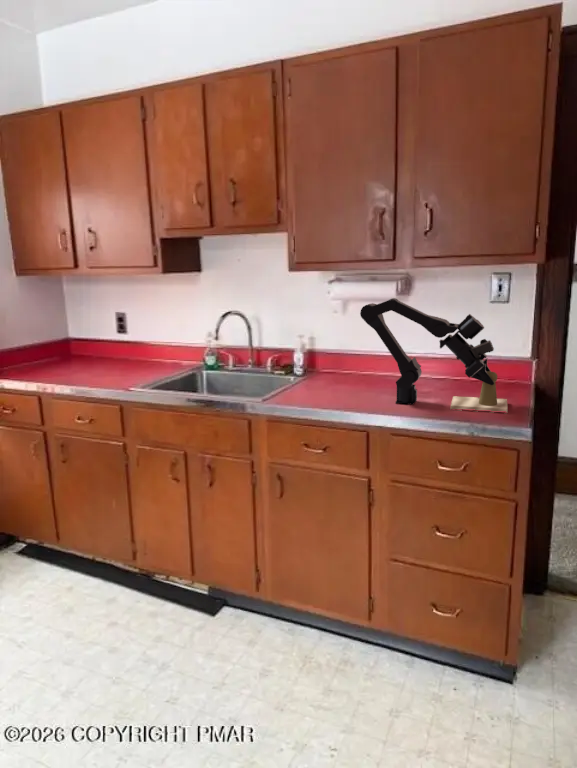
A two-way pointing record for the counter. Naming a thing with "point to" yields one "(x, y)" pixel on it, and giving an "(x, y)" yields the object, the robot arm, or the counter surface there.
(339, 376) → the counter surface
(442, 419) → the counter surface
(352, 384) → the counter surface
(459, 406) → the birch board
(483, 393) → the cork
